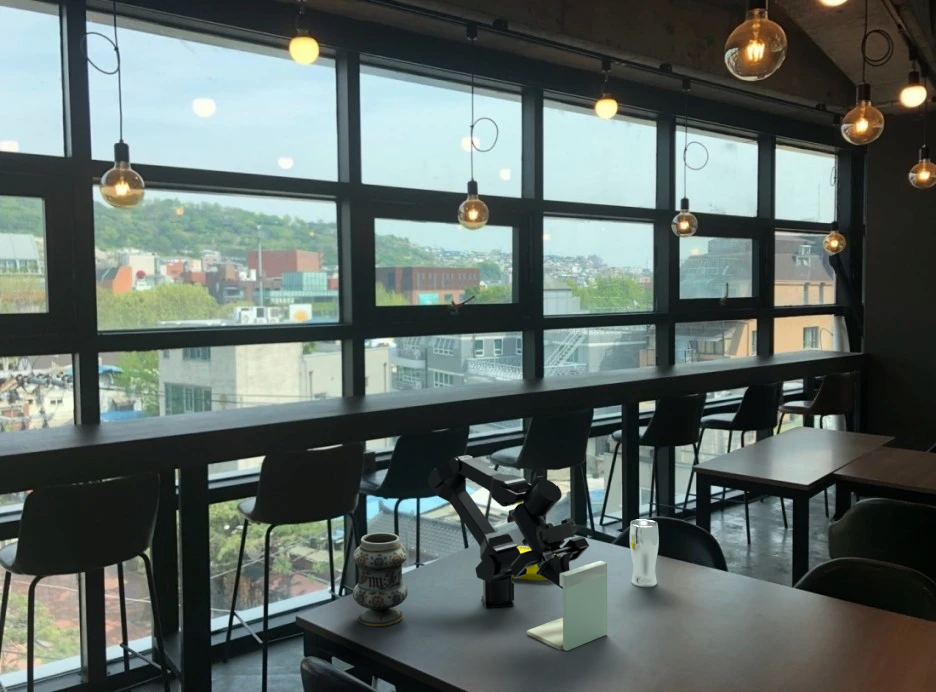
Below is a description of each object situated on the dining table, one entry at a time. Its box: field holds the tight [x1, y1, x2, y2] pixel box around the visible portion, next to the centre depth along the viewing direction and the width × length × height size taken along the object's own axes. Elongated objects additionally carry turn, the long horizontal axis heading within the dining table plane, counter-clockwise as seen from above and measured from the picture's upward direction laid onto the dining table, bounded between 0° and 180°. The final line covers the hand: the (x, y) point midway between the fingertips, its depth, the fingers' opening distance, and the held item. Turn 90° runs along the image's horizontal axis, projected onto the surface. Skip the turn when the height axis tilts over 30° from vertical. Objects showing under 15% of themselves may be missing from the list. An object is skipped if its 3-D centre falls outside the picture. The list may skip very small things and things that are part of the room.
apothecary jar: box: [352, 532, 409, 627], centre depth 164 cm, size 12×12×18 cm
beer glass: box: [629, 518, 660, 588], centre depth 184 cm, size 7×7×15 cm
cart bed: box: [526, 616, 564, 651], centre depth 156 cm, size 10×13×1 cm
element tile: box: [511, 545, 555, 581], centre depth 195 cm, size 15×15×5 cm
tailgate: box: [560, 560, 608, 651], centre depth 151 cm, size 2×12×15 cm, turn 128°
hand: (571, 592), depth 154 cm, fingers closed
